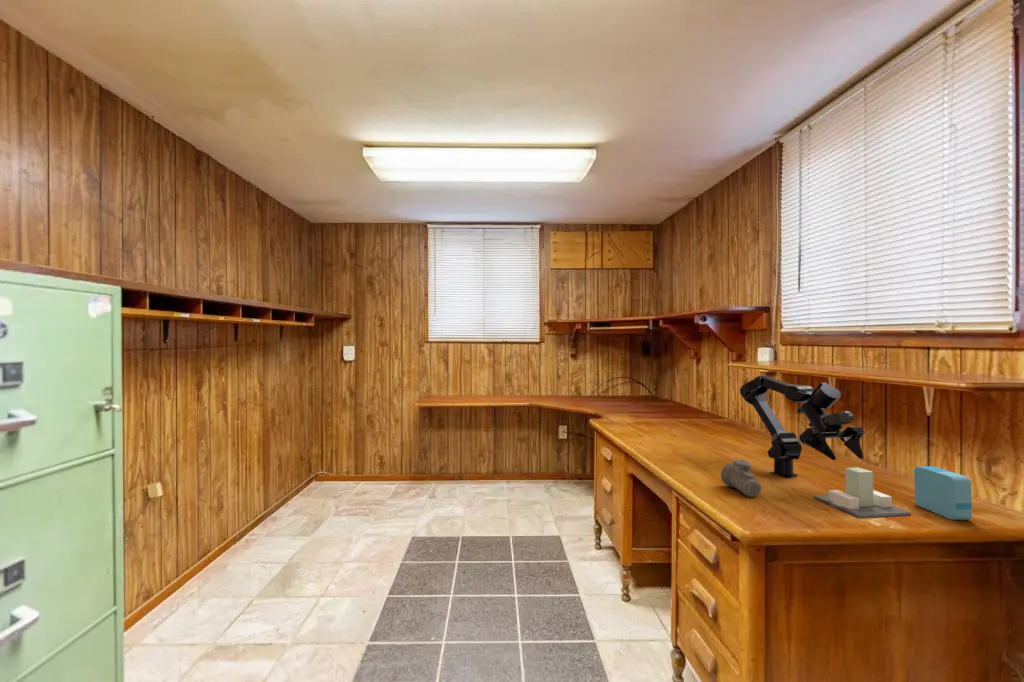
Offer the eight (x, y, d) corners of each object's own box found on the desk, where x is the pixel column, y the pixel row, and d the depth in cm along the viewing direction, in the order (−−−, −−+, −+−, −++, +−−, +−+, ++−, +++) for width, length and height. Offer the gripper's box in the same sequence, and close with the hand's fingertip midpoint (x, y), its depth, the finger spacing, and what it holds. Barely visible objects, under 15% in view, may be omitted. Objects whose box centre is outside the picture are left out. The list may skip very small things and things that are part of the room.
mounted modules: (849, 509, 118) (849, 498, 118) (828, 500, 125) (828, 490, 125) (891, 506, 119) (891, 496, 119) (868, 498, 126) (868, 488, 126)
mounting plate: (858, 517, 114) (858, 514, 114) (814, 498, 129) (814, 495, 129) (910, 515, 115) (910, 512, 115) (860, 495, 130) (860, 493, 130)
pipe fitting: (718, 484, 141) (722, 455, 140) (740, 485, 142) (744, 457, 141) (739, 501, 129) (743, 470, 128) (763, 502, 130) (768, 471, 129)
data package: (972, 522, 110) (971, 477, 111) (954, 521, 111) (953, 477, 111) (930, 504, 122) (929, 464, 123) (914, 504, 123) (913, 464, 123)
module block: (845, 500, 124) (845, 467, 124) (859, 500, 124) (858, 467, 125) (859, 506, 120) (859, 472, 120) (873, 505, 120) (872, 471, 120)
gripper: (805, 403, 130) (837, 446, 119) (859, 401, 132) (894, 444, 121) (787, 422, 138) (814, 465, 127) (837, 421, 139) (869, 462, 128)
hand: (848, 458), depth 125 cm, fingers open, 9 cm apart
